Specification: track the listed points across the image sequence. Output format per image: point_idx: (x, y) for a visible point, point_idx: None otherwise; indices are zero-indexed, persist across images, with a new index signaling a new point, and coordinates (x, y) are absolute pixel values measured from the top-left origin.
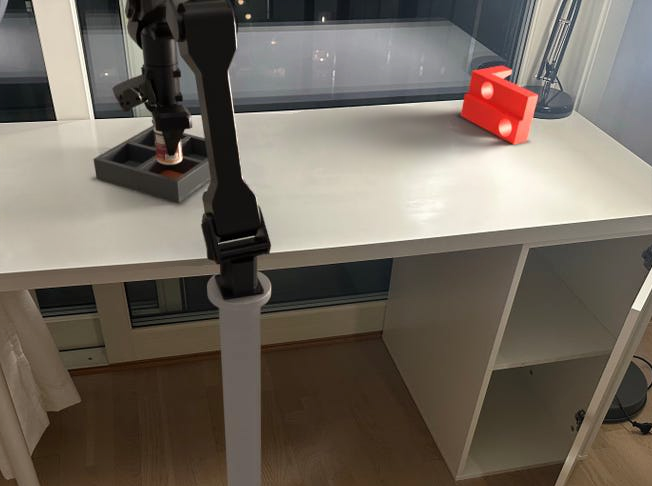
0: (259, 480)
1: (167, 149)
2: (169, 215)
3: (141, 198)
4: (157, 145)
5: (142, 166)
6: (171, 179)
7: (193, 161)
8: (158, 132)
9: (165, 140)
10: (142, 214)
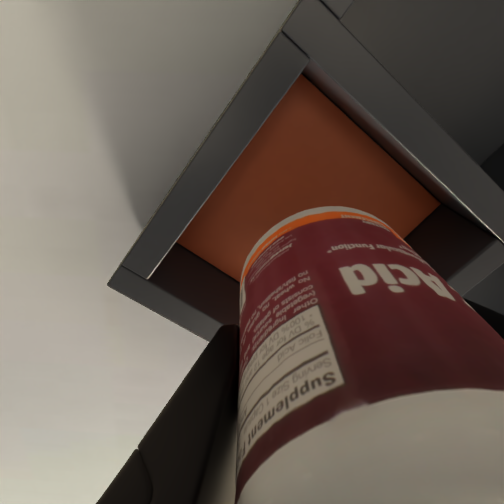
0: None
1: (194, 365)
2: (27, 191)
3: (189, 57)
4: (297, 291)
5: (348, 82)
6: (139, 259)
7: None
8: (291, 459)
9: (134, 461)
10: (13, 59)
